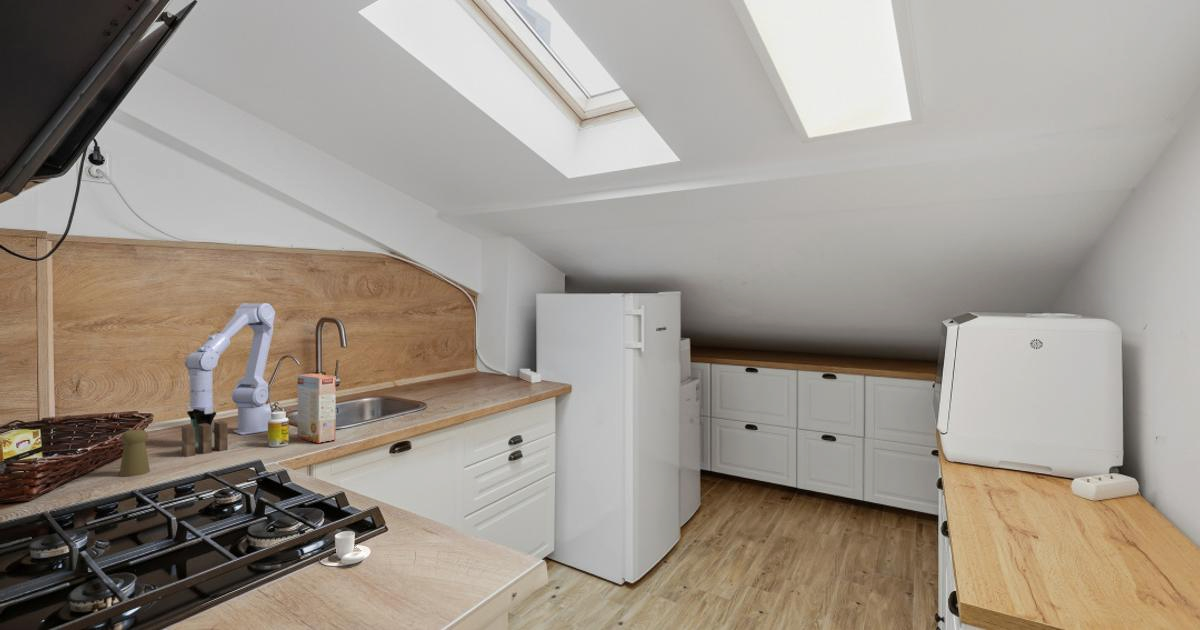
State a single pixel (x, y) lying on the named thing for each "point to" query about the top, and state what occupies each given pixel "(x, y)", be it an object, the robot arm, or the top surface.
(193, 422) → the domino head
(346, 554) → the teacup and saucer
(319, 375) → the cracker box
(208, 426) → the domino
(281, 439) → the supplement bottle
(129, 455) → the olive green pepper mill
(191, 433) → the domino
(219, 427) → the domino
